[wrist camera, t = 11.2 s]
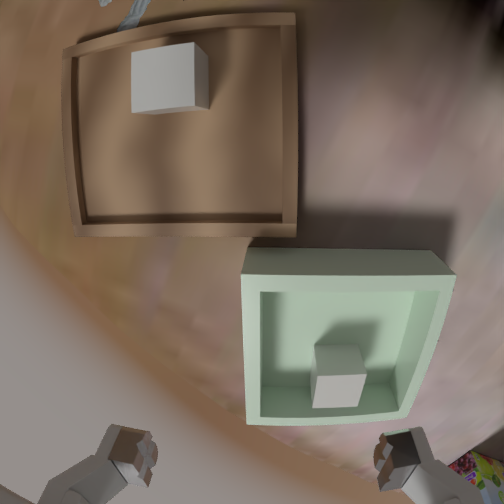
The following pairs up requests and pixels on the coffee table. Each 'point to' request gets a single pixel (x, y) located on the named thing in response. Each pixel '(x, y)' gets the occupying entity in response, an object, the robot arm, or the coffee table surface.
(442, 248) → the coffee table surface
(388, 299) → the green bin
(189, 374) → the coffee table surface
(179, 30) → the walnut tray
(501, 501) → the snack box
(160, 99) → the stone cube
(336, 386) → the stone cube
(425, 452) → the robot arm
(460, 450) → the coffee table surface
